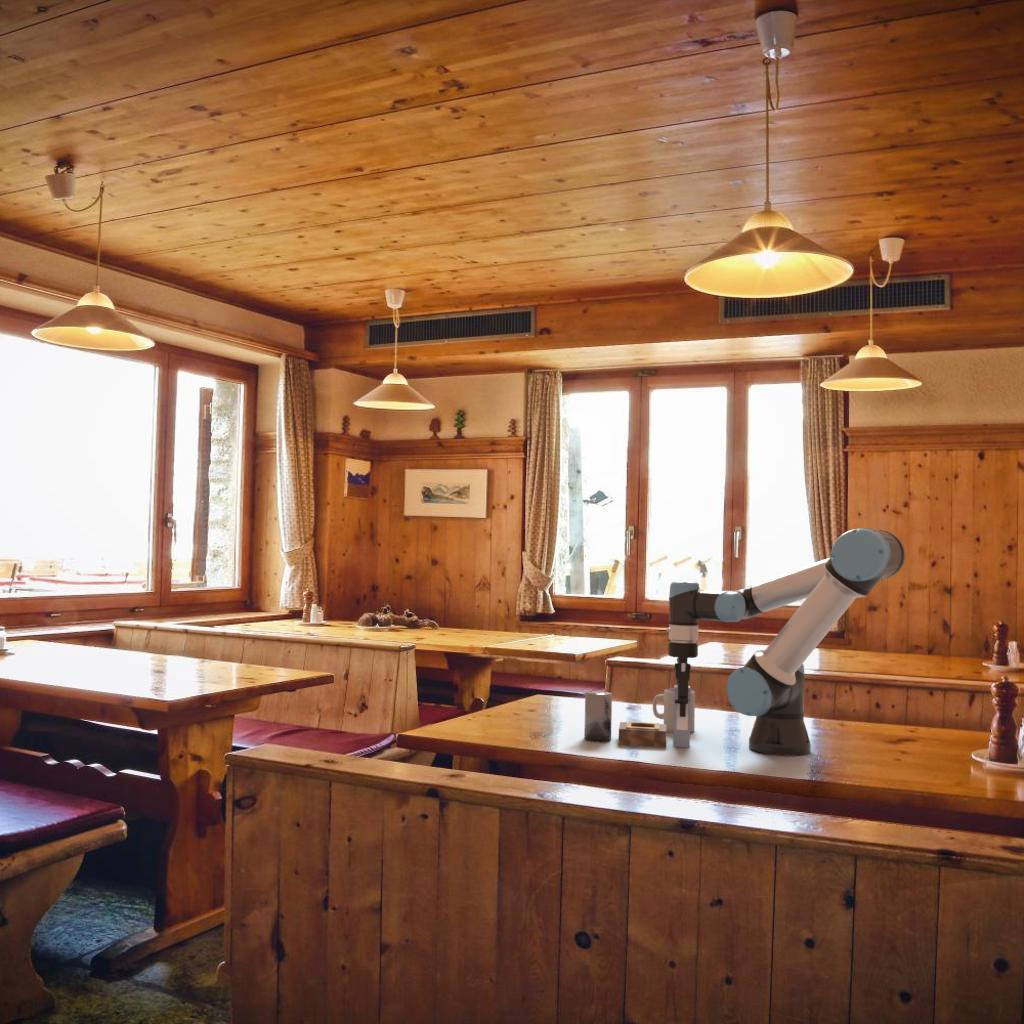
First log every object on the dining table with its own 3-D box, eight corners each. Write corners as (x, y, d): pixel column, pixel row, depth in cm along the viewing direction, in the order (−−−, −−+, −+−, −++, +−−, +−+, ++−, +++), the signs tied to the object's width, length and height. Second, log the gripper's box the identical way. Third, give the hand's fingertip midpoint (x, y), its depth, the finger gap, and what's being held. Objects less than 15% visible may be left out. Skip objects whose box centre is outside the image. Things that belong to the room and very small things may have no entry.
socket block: (665, 739, 252) (666, 722, 252) (666, 747, 242) (666, 729, 242) (620, 737, 254) (620, 720, 254) (618, 744, 244) (618, 727, 244)
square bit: (689, 744, 247) (689, 682, 247) (689, 747, 243) (690, 684, 243) (673, 743, 247) (674, 682, 248) (673, 746, 243) (674, 684, 244)
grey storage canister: (615, 741, 248) (616, 695, 248) (591, 742, 246) (592, 695, 246) (603, 736, 255) (604, 691, 255) (580, 737, 252) (580, 691, 253)
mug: (698, 729, 268) (698, 690, 268) (689, 734, 260) (689, 693, 261) (657, 724, 273) (658, 686, 274) (647, 729, 266) (648, 689, 266)
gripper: (668, 636, 259) (666, 715, 258) (668, 645, 234) (667, 733, 234) (696, 637, 258) (694, 717, 257) (699, 646, 233) (698, 734, 232)
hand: (681, 725), depth 245 cm, fingers open, 12 cm apart
